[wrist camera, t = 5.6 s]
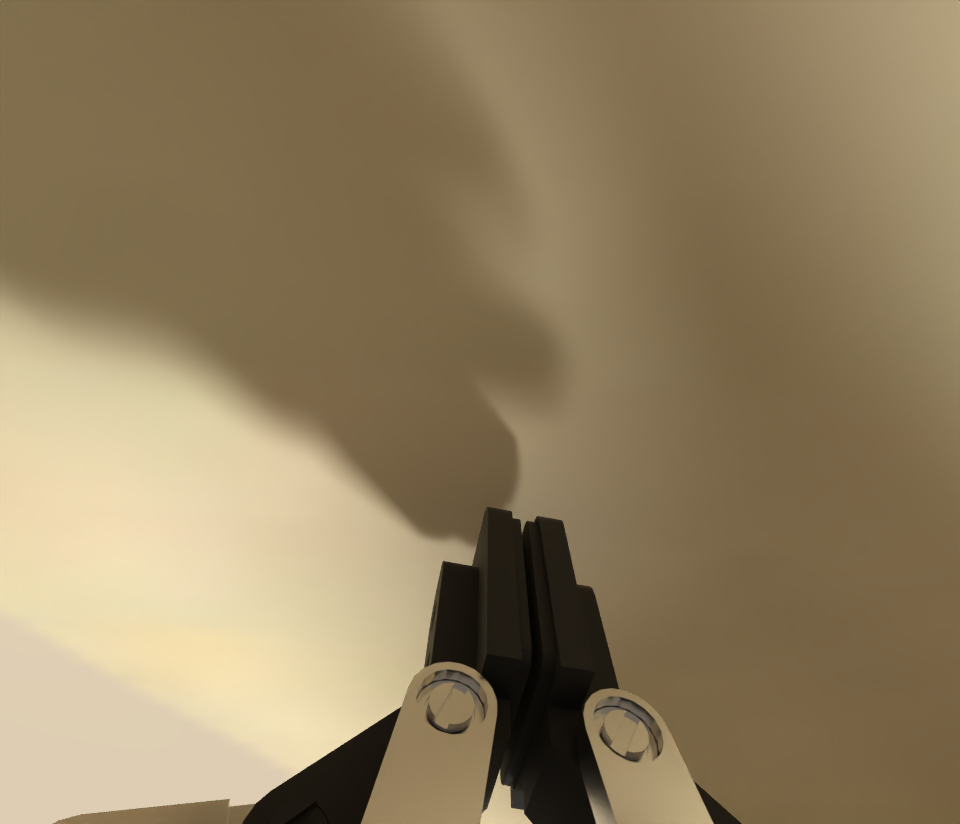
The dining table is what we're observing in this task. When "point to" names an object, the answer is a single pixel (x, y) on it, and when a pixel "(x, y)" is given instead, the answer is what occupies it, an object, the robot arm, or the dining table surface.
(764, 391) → the dining table surface
